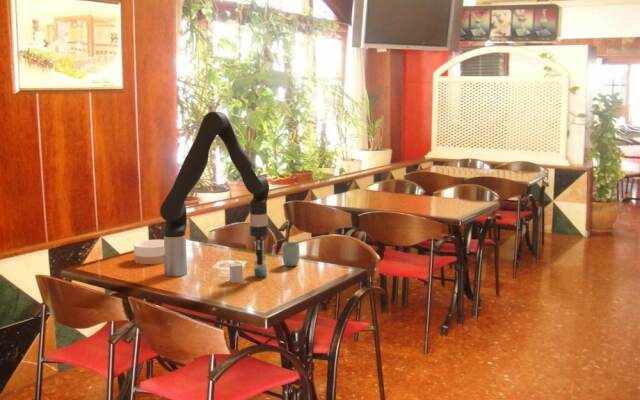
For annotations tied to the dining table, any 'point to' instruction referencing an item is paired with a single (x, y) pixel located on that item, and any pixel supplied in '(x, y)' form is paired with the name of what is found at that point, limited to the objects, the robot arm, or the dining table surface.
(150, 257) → the bowl
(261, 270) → the blue canister
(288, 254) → the cup
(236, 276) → the grey block
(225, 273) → the dining table surface
